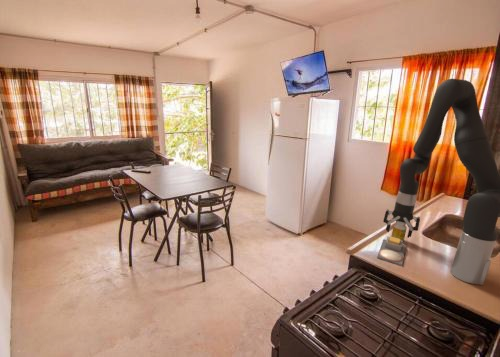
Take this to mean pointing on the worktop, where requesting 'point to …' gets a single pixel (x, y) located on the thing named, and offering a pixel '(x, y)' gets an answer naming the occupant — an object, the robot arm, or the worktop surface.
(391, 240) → the button
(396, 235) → the supplement bottle
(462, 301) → the worktop surface
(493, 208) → the robot arm
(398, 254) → the grey rectangular board
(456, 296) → the worktop surface
